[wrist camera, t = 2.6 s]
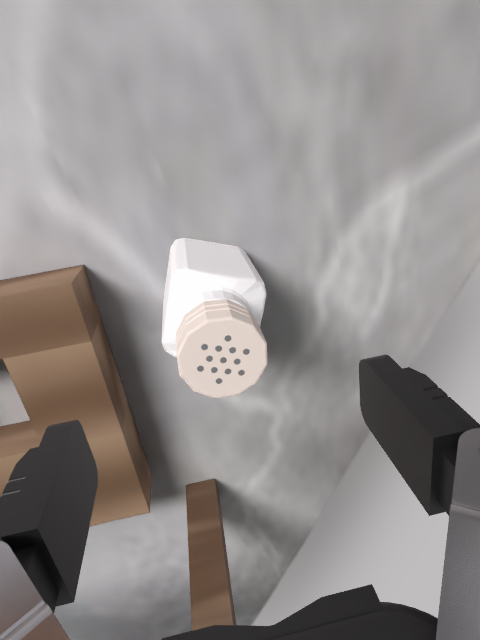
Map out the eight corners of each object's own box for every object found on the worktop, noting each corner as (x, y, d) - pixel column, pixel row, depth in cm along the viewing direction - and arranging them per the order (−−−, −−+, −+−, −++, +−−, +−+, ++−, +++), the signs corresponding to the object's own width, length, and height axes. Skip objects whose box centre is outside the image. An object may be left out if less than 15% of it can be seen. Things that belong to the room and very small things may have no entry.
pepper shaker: (172, 233, 22) (172, 298, 13) (246, 245, 23) (292, 314, 14) (162, 304, 23) (157, 403, 15) (232, 313, 24) (266, 412, 16)
